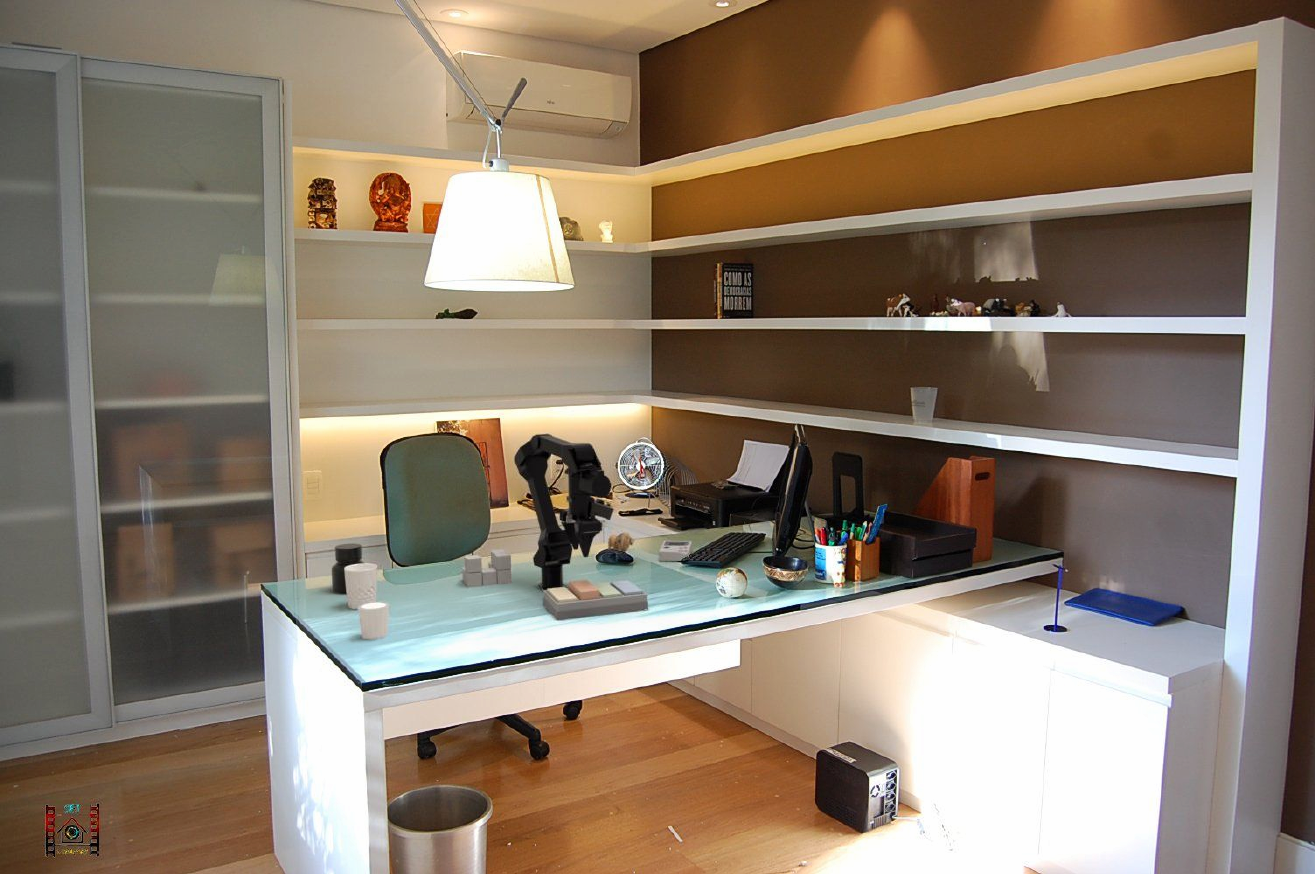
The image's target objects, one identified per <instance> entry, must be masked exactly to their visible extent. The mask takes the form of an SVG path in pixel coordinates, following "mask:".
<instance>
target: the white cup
mask: <svg viewBox="0 0 1315 874" xmlns="http://www.w3.org/2000/svg"><path fill="white" fill-rule="evenodd" d="M344 571H345V582H346V592H347V594H346V597H347V603H348V604H347V605H348V609H352V610H358V606H360V605H361V604H364V603H369V602H377V594H378V593H377V591H378V565H377V564H374V563H365V562H364V563H363V564H354V565H349V566H347V567H345V568H344Z"/></svg>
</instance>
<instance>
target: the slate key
mask: <svg viewBox="0 0 1315 874" xmlns="http://www.w3.org/2000/svg"><path fill="white" fill-rule="evenodd" d="M611 586H613V587H614V588H615V589H616V590H618V591H619V592H620V593H621V594H623V595H624V596H628V595H638V594H643V592H644V590H642V589H641V588H640V587H639V586H637V585H635V584H634V583H633V582H631V581H629V580H619V581H611Z"/></svg>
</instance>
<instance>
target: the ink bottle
mask: <svg viewBox="0 0 1315 874" xmlns="http://www.w3.org/2000/svg"><path fill="white" fill-rule="evenodd" d="M334 555H335V556H334V557H335V559H334V560H335V561H336V562H335V564H333V565H332V567H331V585H332V586H331V587H332V592H333V593H337V594H346V595H347V592H346V582H345V571H344V568H345V567H347V566H349V565H354V564H363V563H365V562H364V561H363V560H362V559H363V546H362V544H361V543H342V544H338V545H336V546H334Z"/></svg>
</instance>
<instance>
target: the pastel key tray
mask: <svg viewBox="0 0 1315 874" xmlns="http://www.w3.org/2000/svg"><path fill="white" fill-rule="evenodd" d="M609 584H610V585H611V583H609ZM567 589H568V590H569V587H567ZM542 592H543V593H542V594H543V595H542V606H545V607H546V608H545V607H544V608H545V609H546V610H547V611H548V612H549V613H550V614H551V616H553V617H554V618H555V619H556V621H563V620H571V619H572V620H573V619H580V618H588V617H589V618H591V617H596V616H598V617H599V616H606V615H615V614H614V613H616V614H623V613H625V614H626V613H631V612H640V611H639V610H642V611H646V610H645V609H648V610H649V601H648V593H645V591H643V594H638V595H628V596H624V595H623V594H621V596H619V597H610V598H602V597H600V596H599V599H592V600H582V601H580V600H579V599H578V598H577V601H573V602H564V603H557V602H556V601H555V600H554V599H553V598H552V597H551V596H550V595H549V594H548V593H547V590H542ZM573 595H574V594H573ZM574 596H575V595H574Z"/></svg>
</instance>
